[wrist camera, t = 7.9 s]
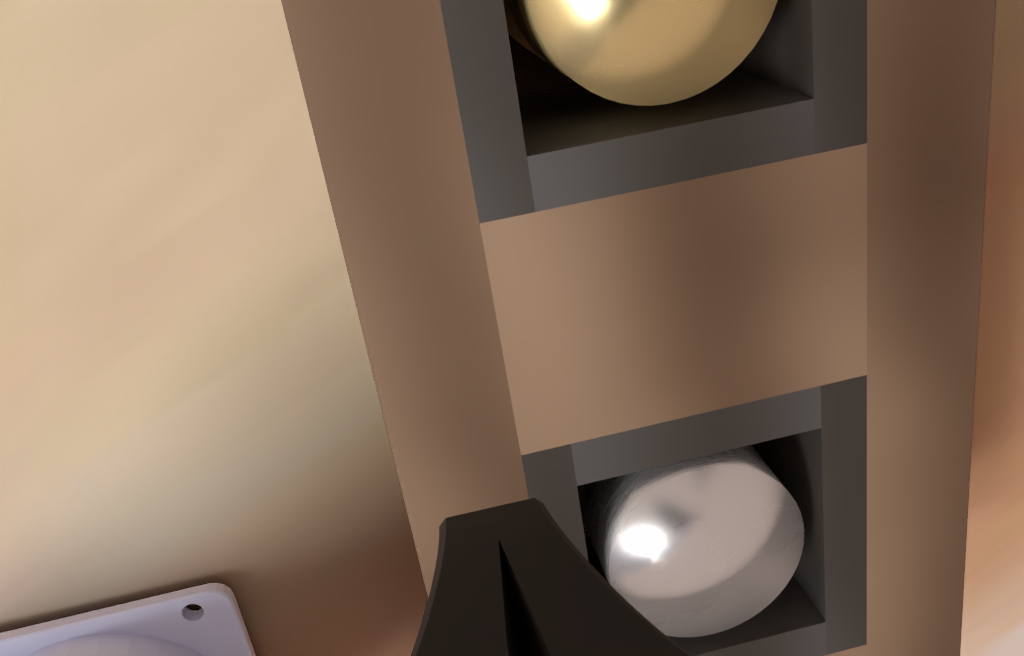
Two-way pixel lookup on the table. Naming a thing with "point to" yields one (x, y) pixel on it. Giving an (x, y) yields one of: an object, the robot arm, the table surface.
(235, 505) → the table surface
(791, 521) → the steel peg
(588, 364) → the peg board
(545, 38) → the brass peg
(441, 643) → the robot arm
